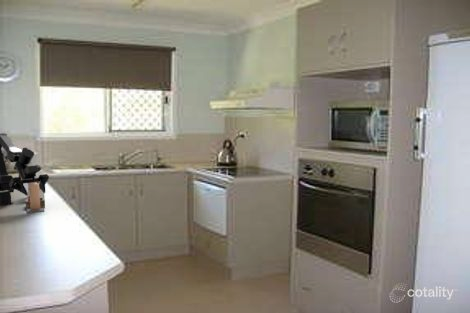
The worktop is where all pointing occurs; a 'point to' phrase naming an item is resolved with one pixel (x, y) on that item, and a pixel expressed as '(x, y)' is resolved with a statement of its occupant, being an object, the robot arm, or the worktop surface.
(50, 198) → the worktop surface
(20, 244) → the worktop surface
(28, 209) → the mat
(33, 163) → the skyscraper
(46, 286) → the worktop surface
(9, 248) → the worktop surface
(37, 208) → the peg
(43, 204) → the socket block
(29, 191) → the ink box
